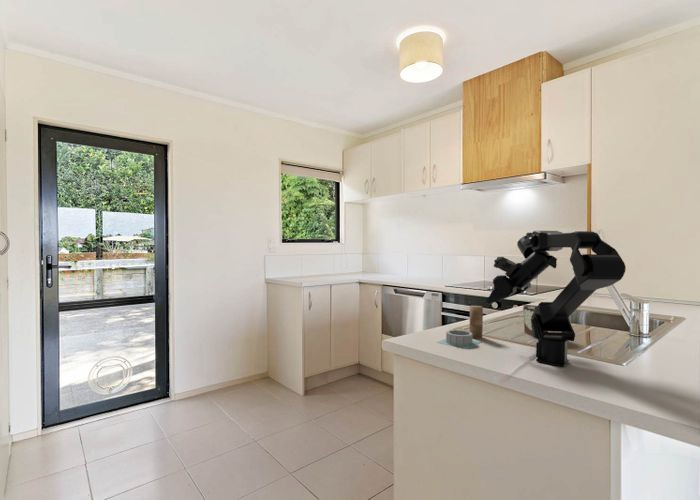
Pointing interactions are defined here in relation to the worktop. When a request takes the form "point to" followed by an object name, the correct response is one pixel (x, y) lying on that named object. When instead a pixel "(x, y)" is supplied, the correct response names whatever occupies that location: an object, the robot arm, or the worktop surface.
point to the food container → (529, 319)
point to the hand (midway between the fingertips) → (492, 300)
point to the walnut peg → (476, 321)
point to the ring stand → (459, 339)
